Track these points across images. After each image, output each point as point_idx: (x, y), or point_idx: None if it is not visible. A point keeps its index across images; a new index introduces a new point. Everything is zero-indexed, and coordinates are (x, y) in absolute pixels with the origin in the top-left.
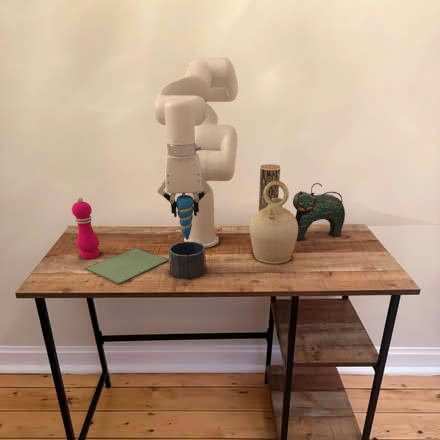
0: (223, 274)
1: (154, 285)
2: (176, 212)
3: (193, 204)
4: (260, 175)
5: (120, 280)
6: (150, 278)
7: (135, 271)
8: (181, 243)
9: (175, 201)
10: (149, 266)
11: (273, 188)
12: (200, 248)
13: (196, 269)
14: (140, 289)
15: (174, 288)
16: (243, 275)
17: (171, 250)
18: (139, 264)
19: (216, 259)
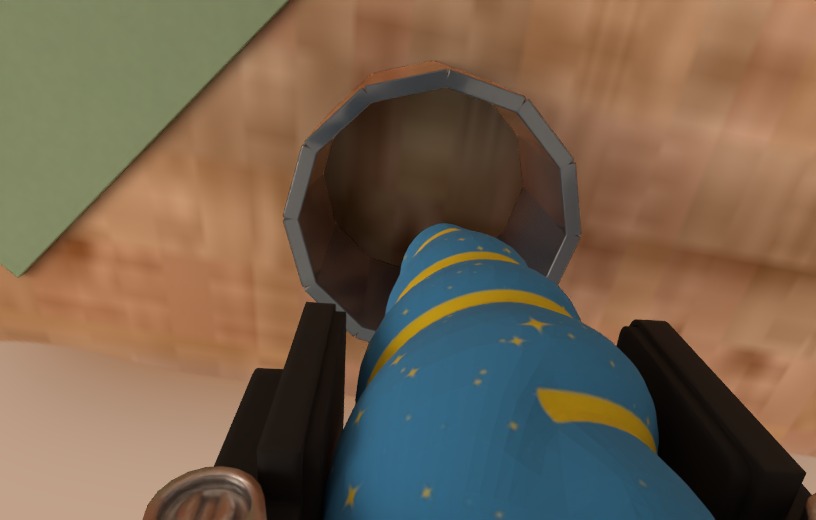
0: (617, 264)
1: (226, 319)
2: (340, 415)
3: (685, 424)
4: None
5: (17, 250)
6: (194, 238)
7: (82, 148)
8: (399, 95)
9: (312, 483)
10: (166, 87)
11: None
12: (548, 158)
13: None
14: (156, 346)
15: None
16: (719, 294)
17: (309, 188)
18: (86, 38)
19: (644, 41)
